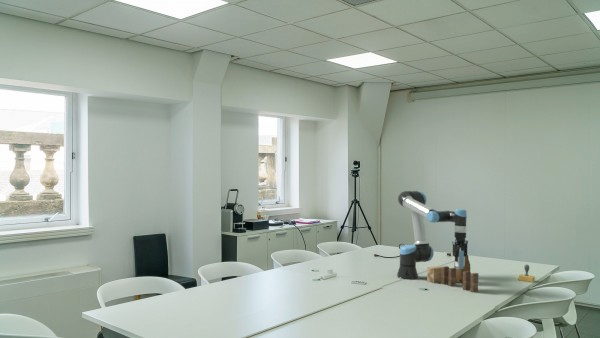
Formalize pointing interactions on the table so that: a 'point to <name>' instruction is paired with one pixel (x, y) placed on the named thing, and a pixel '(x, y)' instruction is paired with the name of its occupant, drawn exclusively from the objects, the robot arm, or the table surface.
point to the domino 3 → (461, 260)
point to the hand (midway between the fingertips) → (459, 265)
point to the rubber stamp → (526, 275)
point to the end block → (434, 274)
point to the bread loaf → (462, 270)
